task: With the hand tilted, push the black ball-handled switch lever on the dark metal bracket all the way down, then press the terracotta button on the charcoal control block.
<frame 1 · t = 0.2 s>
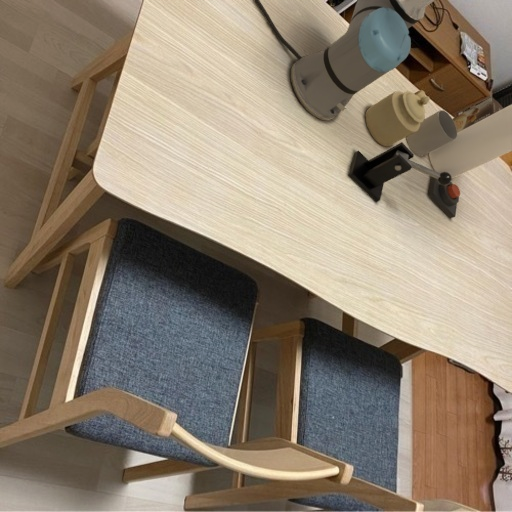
coffee box: (447, 140, 169), on the table
tall pillar cylinder: (439, 163, 161), on the table
button block: (440, 197, 155), on the table
cup: (415, 142, 156), on the table
bracket: (365, 177, 134), on the table
sugar bowl: (379, 121, 147), on the table
button: (453, 191, 152), point 4 cm above the table, slide at 0.1 cm
lever: (422, 169, 127), point 12 cm above the table, hinge at 25.0°
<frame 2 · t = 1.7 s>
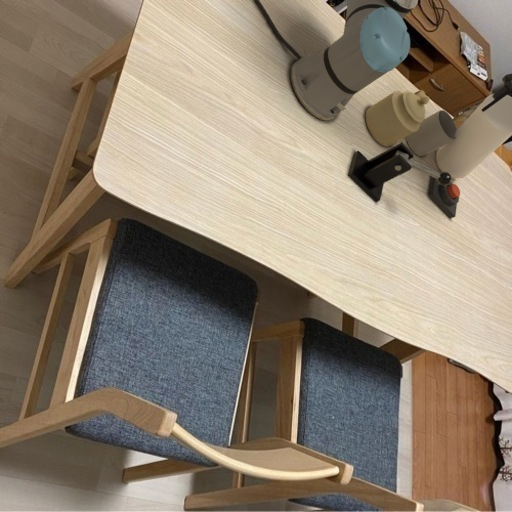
hand: (501, 134, 130), 25 cm above the table, tool tilted 35°, fingers open, 13 cm apart
tall pillar cylinder: (453, 161, 161), point 3 cm above the table, touching cup
cup: (415, 142, 156), on the table, touching tall pillar cylinder
everything else where it was.
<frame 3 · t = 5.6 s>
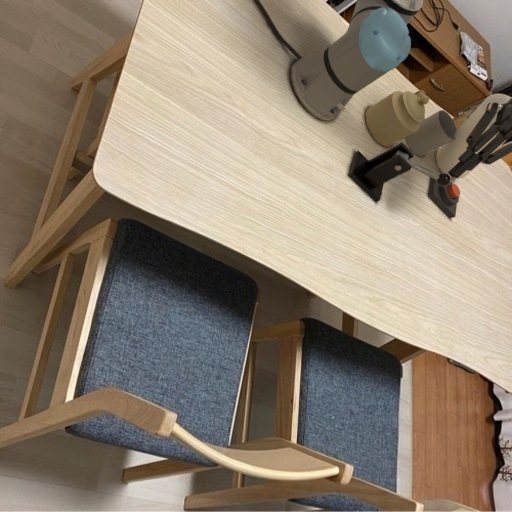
hand: (452, 175, 127), 16 cm above the table, tool tilted 45°, fingers closed
lever: (422, 169, 127), point 12 cm above the table, hinge at 22.9°, touching gripper
everything else where it was.
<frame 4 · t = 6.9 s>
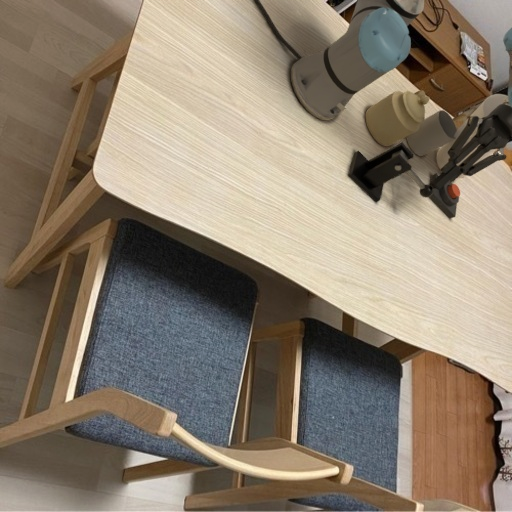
hand: (434, 186, 131), 11 cm above the table, tool tilted 45°, fingers closed
lever: (413, 175, 130), point 10 cm above the table, hinge at -4.5°, touching gripper
everything else where it was.
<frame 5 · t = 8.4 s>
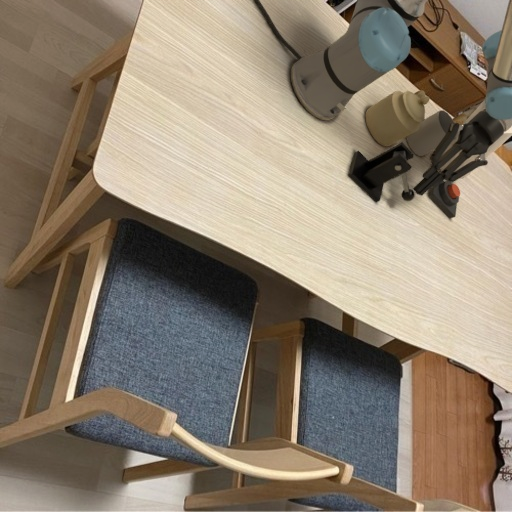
hand: (417, 192, 133), 7 cm above the table, tool tilted 45°, fingers closed
tall pillar cylinder: (454, 161, 161), point 3 cm above the table, touching arm, cup
lever: (404, 177, 131), point 7 cm above the table, hinge at -27.7°, touching gripper
everything else where it was.
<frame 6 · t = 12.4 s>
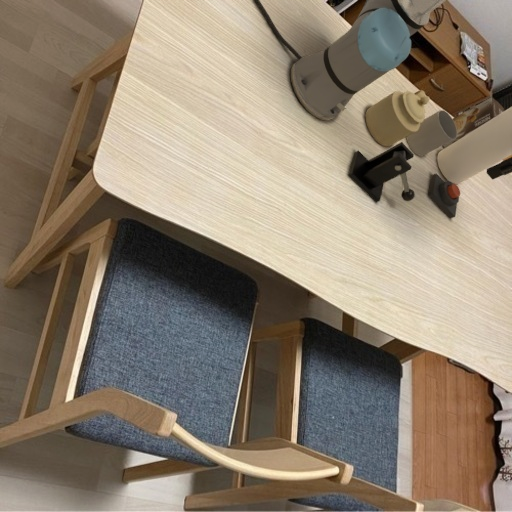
hand: (489, 174, 145), 14 cm above the table, tool pointing down, fingers closed
tall pillar cylinder: (449, 167, 163), point 1 cm above the table
cup: (415, 142, 156), on the table
lever: (404, 177, 131), point 7 cm above the table, hinge at -27.8°
everything else where it was.
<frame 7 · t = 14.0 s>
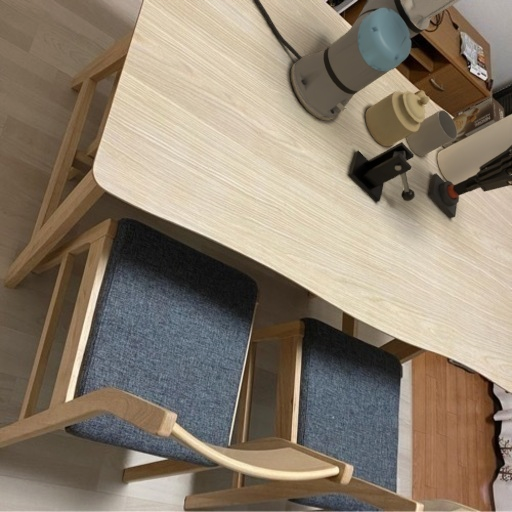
hand: (456, 190, 151), 5 cm above the table, tool pointing down, fingers closed
button: (452, 191, 152), point 4 cm above the table, slide at -0.2 cm, touching gripper
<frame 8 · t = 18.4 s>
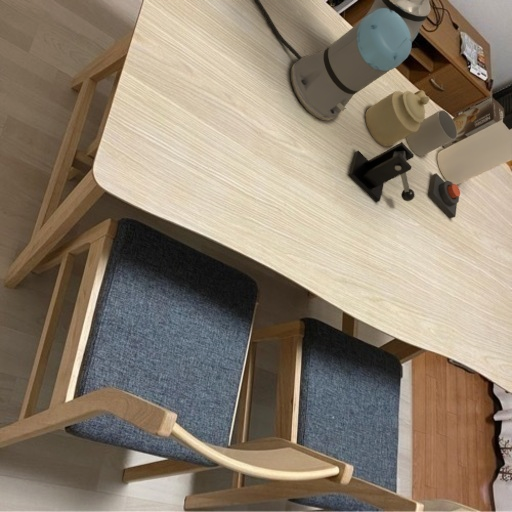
hand: (506, 123, 130), 26 cm above the table, tool pointing down, fingers closed
button: (453, 191, 152), point 4 cm above the table, slide at 0.1 cm
at the end: lever at -28° (first picture: +25°); button pushed in 1.0 cm at the most during the clip, back to where it started at the end; button slide at 0.1 cm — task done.
